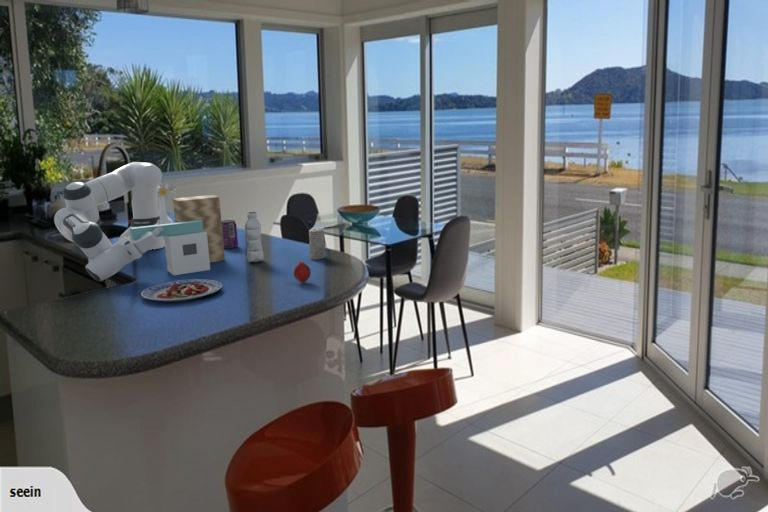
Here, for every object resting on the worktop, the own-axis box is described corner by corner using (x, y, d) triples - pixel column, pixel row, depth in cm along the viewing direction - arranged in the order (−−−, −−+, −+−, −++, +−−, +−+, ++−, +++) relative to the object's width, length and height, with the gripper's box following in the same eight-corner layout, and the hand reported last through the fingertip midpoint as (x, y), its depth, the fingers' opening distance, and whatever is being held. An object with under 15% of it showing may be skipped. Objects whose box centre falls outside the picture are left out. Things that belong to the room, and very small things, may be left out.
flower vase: (142, 230, 354) (137, 183, 349) (177, 226, 364) (172, 180, 359) (149, 233, 344) (143, 185, 338) (184, 228, 353) (179, 182, 348)
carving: (310, 261, 263) (308, 231, 261) (309, 257, 270) (307, 228, 268) (326, 260, 264) (324, 230, 261) (325, 256, 271) (323, 227, 269)
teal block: (133, 239, 241) (132, 228, 240) (130, 238, 244) (129, 227, 243) (203, 231, 254) (202, 221, 254) (200, 230, 258) (199, 220, 257)
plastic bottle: (267, 260, 267) (263, 211, 263) (258, 264, 261) (254, 214, 257) (253, 259, 270) (249, 211, 265) (244, 263, 263) (240, 213, 259)
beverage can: (240, 245, 301) (238, 219, 299) (235, 248, 294) (233, 222, 292) (225, 245, 302) (222, 219, 299) (219, 249, 295) (217, 222, 292)
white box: (173, 275, 248) (169, 237, 245) (167, 271, 256) (163, 234, 253) (210, 269, 255) (206, 232, 252) (203, 265, 263) (200, 229, 259)
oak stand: (185, 265, 263) (178, 200, 258) (179, 261, 272) (172, 198, 266) (225, 260, 271) (219, 196, 266) (217, 256, 280) (211, 194, 274)
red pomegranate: (294, 281, 231) (293, 259, 230) (311, 280, 232) (309, 258, 230) (294, 285, 226) (292, 262, 224) (311, 284, 226) (309, 261, 225)
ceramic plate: (162, 285, 234) (161, 277, 234) (233, 284, 232) (232, 276, 231) (127, 306, 209) (126, 297, 209) (206, 305, 207) (205, 296, 206)
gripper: (129, 250, 253) (159, 229, 257) (139, 259, 236) (172, 236, 240) (118, 237, 250) (149, 216, 255) (128, 245, 233) (161, 222, 237)
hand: (160, 225), depth 247 cm, fingers closed on teal block, 4 cm apart
